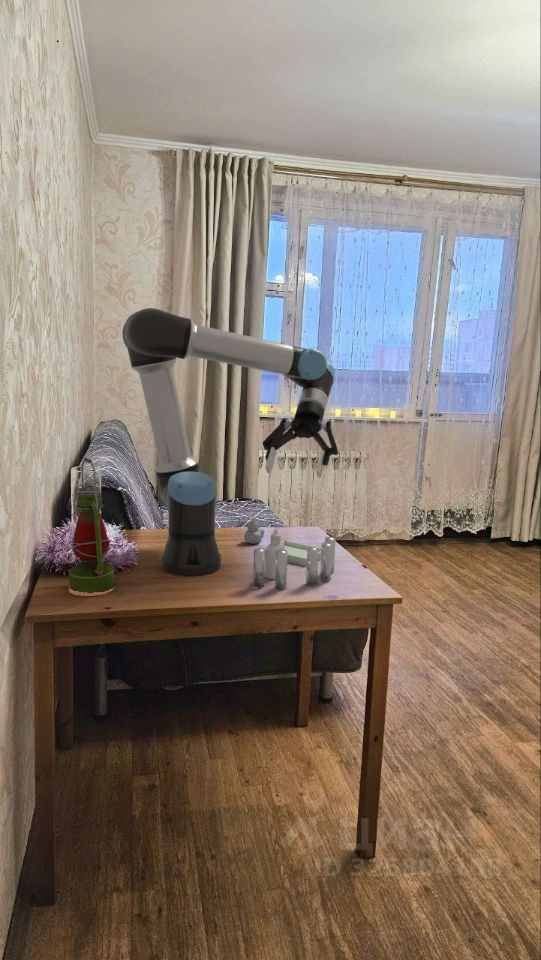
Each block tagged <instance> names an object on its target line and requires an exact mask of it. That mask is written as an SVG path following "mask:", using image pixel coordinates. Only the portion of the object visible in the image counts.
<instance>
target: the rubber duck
mask: <svg viewBox="0 0 541 960" xmlns="http://www.w3.org/2000/svg"><path fill="white" fill-rule="evenodd" d="M246 528H247V530H246V531H245V533H244V536H243V540H244V541H246V542H247V544H252V545H253V544H254V545H255V544H258V543H260V542H261V541H262V539H263V538H264V535H265V531H266V530H265V529H263V528H260V525H259V523H258V521H256V519H254V517H253V516H252V517H251V519H250V521H249V522H248V524H247V526H246Z"/></svg>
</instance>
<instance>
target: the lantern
mask: <svg viewBox="0 0 541 960" xmlns="http://www.w3.org/2000/svg"><path fill="white" fill-rule="evenodd" d="M85 462H86V463H88V464H90V465H91V468H92V472H93V485H92V478H91V477H90V475H89V476H87V480H86V481H87V485H84V464H85ZM96 474H97V473H96V470H95V466H94V463H93V461H92V460H91V459H89V458H88V457H85V458H83V460H82V463H81V487H79V488H78V489H77V499H76V501H77V505H75V508H76V509H79V510H80V512H79V514H78V518H77V519H76V521H77V522H76V524H75V530H74V536H73V538H72V539H71V541H70V543H71V545H72V546H71V547H70V548H71V549H72V552H73V555H74V556H75V557H76V558H78V560H79V561H81V562H80V563H78V564H76V565H75V566H73V567H71V568H70V569H69V570H68V586H70V589H72V590H74V591H79V592H84V593H85V592H87V593H93V592H105V591H108V590H110V589H113V588H114V587H115V585H116V583H115V582H116V581H115V568H114V566H113V565H112V564H111V563H110V562H108V561H104V557H105V556H106V555H107V554H108V553H109V550H110V543H111V540H110V538H109V536H108V535H107V534H108V533H107V530H106V525H105V523H104V521H103V517H102V515H101V512H100V509H102V508H103V507H104V503H103V501H102V500H103V499H102V493H101V492H102V489H101V487H97V478H96Z"/></svg>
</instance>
